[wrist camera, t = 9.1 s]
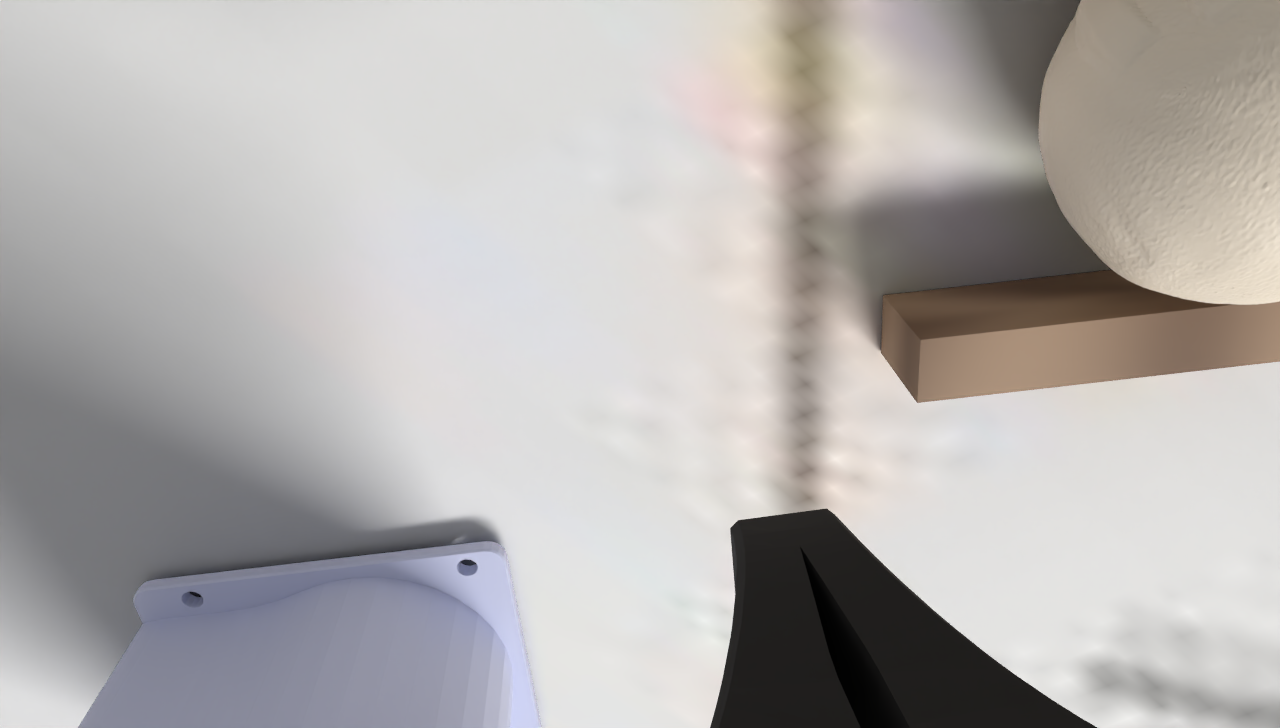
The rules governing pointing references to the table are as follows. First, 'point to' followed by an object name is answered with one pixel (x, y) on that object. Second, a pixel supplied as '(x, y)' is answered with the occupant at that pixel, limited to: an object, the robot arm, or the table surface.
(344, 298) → the table surface
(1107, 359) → the pocket
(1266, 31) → the baseball
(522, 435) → the table surface
